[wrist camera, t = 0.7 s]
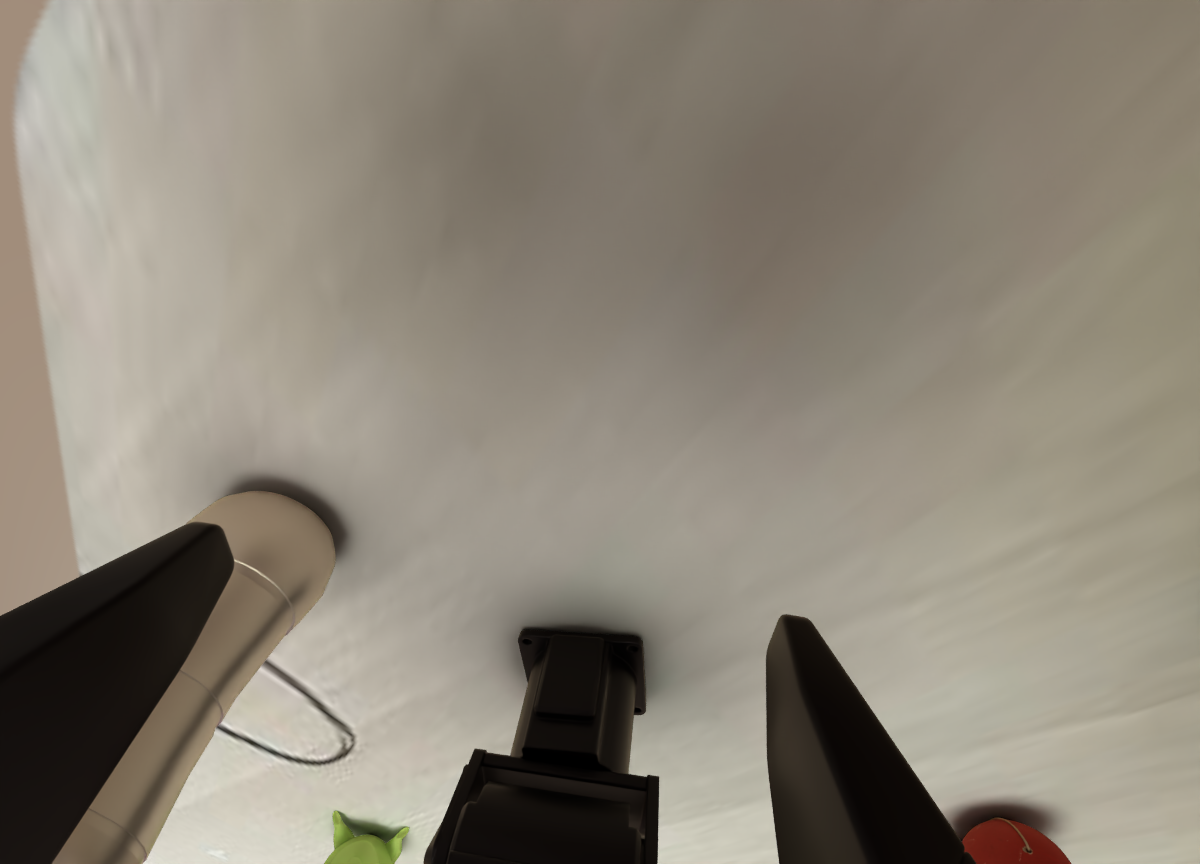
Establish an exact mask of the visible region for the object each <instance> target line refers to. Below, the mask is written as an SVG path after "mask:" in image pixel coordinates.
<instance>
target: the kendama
mask: <svg viewBox="0 0 1200 864" xmlns="http://www.w3.org/2000/svg"><path fill="white" fill-rule="evenodd" d="M962 843H963V845H964V847H965V850H964V852H968V853H970V855H971V856H972V857H973V859H974V860H975V862H976V863H977V864H1071V862H1070V861H1069V860H1068V858H1067V857H1066V855H1065V854H1064V853H1063V852H1062V851H1061V850H1060V848H1059V847H1058V846H1057V845H1056V844H1055V843H1053V842H1052V841H1051V840H1050V839H1049V838H1047V837H1046V836H1045V835H1043V834H1042V833H1041V832H1039V831H1037V830H1035V829H1034V828H1032V827H1030V826H1027V825H1025V824H1022V823H1019V822H1016V821H1011V820H1006V819H1003V818H992V819H990V820H988V821H986V822H983V823H980V824H979V825H977V826H975V827H974V828H972V829H971V830H970V831H969V832H968V833H967V834H966V836H965V837H964V839H963V840H962Z"/></svg>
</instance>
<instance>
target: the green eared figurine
mask: <svg viewBox="0 0 1200 864" xmlns="http://www.w3.org/2000/svg"><path fill="white" fill-rule="evenodd" d="M333 822H334V827H335V831H334V848H335V850H334V851H333V852H332V853H331V855H330V856H329V857H328V859H327V860H326V861H325V863H324V864H394V863H395V861H396V860H397V859H398V857H399V856H400V854H401V850H402V844H401V842H402V839H403V838H404V837H405V836H406V835H407V833H408V831H409V828H408V827H406V828H404V829H402V830H401V831H399V832H398V833H397V835H396V836H395V837H394V838H392V839H391V840H390V841H389V842H387V843H385V842H384V841H383V840H382V839H380V838H379V837H377V836H374V835H360V836H357V837H354V835H353V833H352V831H351V830H350V828H349V827H347V826H346V825H345V824H344V823H343V821H342V819H341V816H340V814H339V813H338V812H337V811H335V812H334V813H333Z"/></svg>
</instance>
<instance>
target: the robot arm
mask: <svg viewBox="0 0 1200 864" xmlns="http://www.w3.org/2000/svg"><path fill="white" fill-rule="evenodd" d="M233 570H234V557H233V554H232V552H231V549H230V546H229V543H228V541H227V538H226V535H225V532H224V530H223V529H222V527H220V526H219V525H217V524H211V523H205V522H191V523H188V524H186V525H184V526H182V527H180V528H178V529H176V530H174V531H172V532H170V533H168V534H166V535H164V536H162V537H160V538H158V539H156V540H154V541H151V542H149V543H147V544H145V545H143V546H141V547H139V548H137V549H135V550H133V551H131V552H129V553H127V554H125V555H123V556H121V557H119V558H117V559H115V560H113V561H111V562H109V563H107V564H105V565H103V566H101V567H99V568H97V569H95V570H93V571H91V572H89V573H87V574H84V575H82V576H80V577H78V578H76V579H74V580H72V581H70V582H69V583H66V584H64V585H62V586H60V587H58V588H56V589H54V590H52V591H50V592H48V593H46V594H44V595H42V596H40V597H38V598H36V599H34V600H32V601H30V602H28V603H26V604H24V605H22V606H20V607H18V608H16V609H13V610H12V611H10V612H7V613H5V614H3V615H1V616H0V864H52V863H53V861H54V860H55V858H56V857H57V855H58V854H59V852H60V851H61V849H62V848H63V846H64V845H65V843H66V842H67V840H68V839H69V837H70V836H71V834H72V833H73V831H74V830H75V828H76V827H77V825H78V824H79V822H80V821H81V819H82V818H83V816H84V814H85V813H86V811H87V810H88V808H89V807H90V805H91V804H92V802H93V801H94V799H95V798H96V796H97V795H98V793H99V792H100V790H101V789H102V787H103V786H104V784H105V783H106V781H107V780H108V778H109V777H110V775H111V774H112V772H113V771H114V769H115V768H116V766H117V765H118V763H119V762H120V760H121V759H122V757H123V755H124V754H125V752H126V751H127V749H128V748H129V746H130V745H131V743H132V742H133V740H134V739H135V737H136V736H137V734H138V733H139V731H140V730H141V728H142V727H143V725H144V724H145V722H146V721H147V719H148V718H149V716H150V715H151V713H152V712H153V710H154V709H155V707H156V706H157V704H158V703H159V701H160V700H161V698H162V697H163V695H164V693H165V692H166V690H167V689H168V687H169V686H170V684H171V683H172V681H173V680H174V678H175V677H176V675H177V674H178V672H179V671H180V669H181V667H182V666H183V664H184V663H185V661H186V659H187V658H188V656H189V654H190V652H191V651H192V649H193V647H194V645H195V644H196V642H197V640H198V638H199V636H200V634H201V632H202V630H203V628H204V626H205V625H206V623H207V621H208V619H209V617H210V615H211V613H212V611H213V609H214V608H215V606H216V604H217V602H218V600H219V598H220V596H221V594H222V592H223V590H224V589H225V587H226V585H227V583H228V581H229V579H230V577H231V575H232V573H233ZM518 643H519V648H520V652H521V656H522V660H523V664H524V669H525V673H526V677H527V681H528V686H527V690H526V694H525V698H524V702H523V706H522V710H521V714H520V718H519V722H518V726H517V730H516V734H515V738H514V742H513V746H512V751H511V755H510V756H507V755H500V754H494V753H487V751H486V750H482V749H474V752H473V754H472V757H471V759H470V762H469V764H468V765H467V764H466V765H465V766H464V769H463V772H462V775H461V777H460V780H459V782H458V785H457V787H456V790H455V792H454V794H453V797H452V799H451V802H450V804H449V807H448V809H447V812H446V814H445V816H444V819H443V821H442V823H441V825H440V827H439V828H438V830H437V832H436V834H435V836H434V837H433V839H432V841H431V843H430V845H429V846H428V848H427V850H426V853H425V857H424V864H657V860H658V810H659V776H652V775H647V777H644V776H638V775H631V774H628V773H629V762H630V751H631V740H632V729H633V718H634V715H642V714H644V713H645V712H646V688H645V670H644V651H643V641H642V640H641V639H640V638H638V637H635V636H624V635H608V634H592V633H577V632H561V631H545V630H529V629H526V630H522V631H521V632H520V634H519V638H518ZM766 710H767V762H768V773H769V782H770V790H771V799H772V807H773V815H774V824H775V832H776V840H777V848H778V857H779V864H977V863H976V862H975V860H974V859H973V857H972V856H971V855H970V853H968V852H964V850H965V847H964V845H963V843H962V842H961V840H960V839H959V837H958V836H957V834H956V833H955V831H954V830H953V829H952V827H951V826H950V824H949V823H948V821H947V820H946V818H945V817H944V815H943V814H942V812H941V811H940V809H939V808H938V807H937V805H936V804H935V802H934V801H933V799H932V798H931V796H930V795H929V793H928V792H927V790H926V789H925V787H924V786H923V785H922V783H921V782H920V780H919V779H918V777H917V776H916V774H915V773H914V771H913V770H912V768H911V767H910V765H909V764H908V763H907V761H906V760H905V758H904V757H903V755H902V754H901V752H900V751H899V749H898V748H897V746H896V745H895V743H894V742H893V741H892V739H891V738H890V736H889V735H888V733H887V732H886V730H885V729H884V727H883V726H882V724H881V723H880V721H879V720H878V719H877V717H876V716H875V714H874V713H873V711H872V710H871V708H870V707H869V705H868V704H867V702H866V701H865V699H864V698H863V697H862V695H861V694H860V692H859V691H858V689H857V688H856V686H855V685H854V683H853V682H852V680H851V679H850V677H849V676H848V675H847V673H846V672H845V670H844V669H843V667H842V666H841V664H840V663H839V661H838V660H837V658H836V657H835V655H834V654H833V653H832V651H831V650H830V648H829V647H828V645H827V644H826V642H825V641H824V639H823V638H822V636H821V635H820V633H819V632H818V631H817V629H816V628H815V626H814V625H813V623H812V622H811V621H810V620H809V619H807V618H805V617H800V616H793V615H787V614H784V615H782V616H781V617H780V618H779V620H778V622H777V625H776V627H775V630H774V632H773V635H772V638H771V640H770V643H769V646H768V649H767V655H766Z"/></svg>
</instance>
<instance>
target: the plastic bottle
mask: <svg viewBox="0 0 1200 864" xmlns="http://www.w3.org/2000/svg"><path fill="white" fill-rule="evenodd" d="M191 522H205V523H211V524H217V525H219V526H220V527H222V529H223V530H224V532H225V535H226V538H227V541H228V543H229V546H230V549H231V552H232V554H233V557H234V570H233V573H232V575H231V577H230V579H229V581H228V583H227V585H226V587H225V589H224V590H223V592H222V594H221V596H220V598H219V600H218V602H217V604H216V606H215V608H214V609H213V611H212V613H211V615H210V617H209V619H208V621H207V623H206V625H205V626H204V628H203V630H202V632H201V634H200V636H199V638H198V640H197V642H196V644H195V645H194V647H193V649H192V651H191V652H190V654H189V656H188V658H187V659H186V661H185V663H184V664H183V666H182V667H181V669H180V671H179V672H178V674H177V675H176V677H175V678H174V680H173V681H172V683H171V684H170V686H169V687H168V689H167V690H166V692H165V693H164V695H163V697H162V698H161V700H160V701H159V703H158V704H157V706H156V707H155V709H154V710H153V712H152V713H151V715H150V716H149V718H148V719H147V721H146V722H145V724H144V725H143V727H142V728H141V730H140V731H139V733H138V734H137V736H136V737H135V739H134V740H133V742H132V743H131V745H130V746H129V748H128V749H127V751H126V752H125V754H124V755H123V757H122V759H121V760H120V762H119V763H118V765H117V766H116V768H115V769H114V771H113V772H112V774H111V775H110V777H109V778H108V780H107V781H106V783H105V784H104V786H103V787H102V789H101V790H100V792H99V793H98V795H97V796H96V798H95V799H94V801H93V802H92V804H91V805H90V807H89V808H88V810H87V811H86V813H85V814H84V816H83V818H82V819H81V821H80V822H79V824H78V825H77V827H76V828H75V830H74V831H73V833H72V834H71V836H70V837H69V839H68V840H67V842H66V843H65V845H64V846H63V848H62V849H61V851H60V852H59V854H58V855H57V857H56V858H55V860H54V861H53V863H52V864H142V863H143V862H144V861H146V859H147V857H148V855H149V853H150V851H151V849H152V847H153V845H154V843H155V842H156V840H157V838H158V836H159V834H160V832H161V830H162V828H163V826H164V824H165V822H166V820H167V818H168V816H169V814H170V812H171V810H172V808H173V806H174V804H175V802H176V800H177V798H178V796H179V794H180V792H181V790H182V788H183V786H184V784H185V782H186V780H187V778H188V776H189V775H190V773H191V771H192V770H193V768H194V766H195V765H196V763H197V762H198V760H199V758H200V757H201V755H202V753H203V752H204V750H205V748H206V747H207V745H208V743H209V742H210V740H211V739H212V737H213V735H214V731H215V728H216V727H217V726H218V725H219V724H220V723H221V722H222V720H223V719H224V717H225V715H226V714H227V712H228V711H229V709H230V707H231V706H232V704H233V702H234V701H235V699H236V697H237V696H238V695H239V694H240V692H241V691H242V690H243V689H244V687H245V686H246V685H247V683H248V682H249V681H250V680H251V678H252V677H253V676H254V674H255V673H256V672H257V671H258V669H259V668H260V667H261V666H262V664H263V663H264V662H265V660H266V659H267V658H268V657H269V655H270V654H271V653H272V651H273V650H274V649H275V648H276V646H277V645H278V644H279V642H280V641H281V640H282V639H283V637H284V636H285V635H287V634H288V633H289V632H290V631H291V630H292V629H293V628H294V627H295V626H296V625H297V624H298V623H299V622H300V621H301V620H302V619H303V618H304V617H305V616H306V614H307V613H308V612H309V611H310V610H311V608H312V607H313V606H314V605H315V604H316V603H317V601H318V600H319V599H320V598H321V597H322V595H323V593H324V591H325V588H326V586H327V584H328V581H329V579H330V576H331V574H332V571H333V569H334V567H335V561H336V555H335V548H334V542H333V538H332V535H331V533H330V531H329V529H328V527H327V526H326V525H325V523H324V522H323V521H322V520H321V519H320V518H319V517H318V516H317V515H316V514H315V513H314V512H313V511H311V510H310V509H309V508H307V507H306V506H304V505H303V504H301V503H299V502H297V501H296V500H293V499H291V498H289V497H286V496H284V495H280V494H277V493H273V492H266V491H249V492H244V493H239V494H234V495H229V496H225V497H223V498H221V499H219V500H217V501H215V502H214V503H213V504H211V505H210V506H209V507H207V508H206V509H204V510H203V511H202V512H200V513H199V514H197V515H196V516H195V517H193V518H192V519H191V520H190V521H189V522H187V524H188V523H191Z"/></svg>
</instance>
